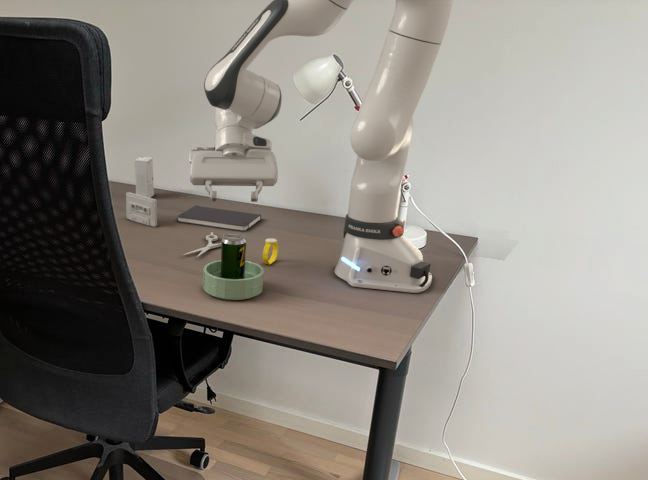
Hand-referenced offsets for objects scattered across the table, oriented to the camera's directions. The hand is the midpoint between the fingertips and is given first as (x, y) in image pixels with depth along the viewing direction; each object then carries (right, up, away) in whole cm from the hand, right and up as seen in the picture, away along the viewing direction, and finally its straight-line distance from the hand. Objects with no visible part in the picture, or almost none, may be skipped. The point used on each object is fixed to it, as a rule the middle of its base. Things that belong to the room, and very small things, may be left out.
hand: (233, 200), depth 169 cm
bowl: (0, -21, -2) cm, 21 cm away
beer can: (0, -20, -2) cm, 20 cm away
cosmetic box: (-25, +16, +69) cm, 75 cm away
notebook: (-2, +4, +46) cm, 47 cm away
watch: (+10, -13, +15) cm, 22 cm away
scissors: (-5, -7, +24) cm, 26 cm away
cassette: (-24, +3, +44) cm, 50 cm away
